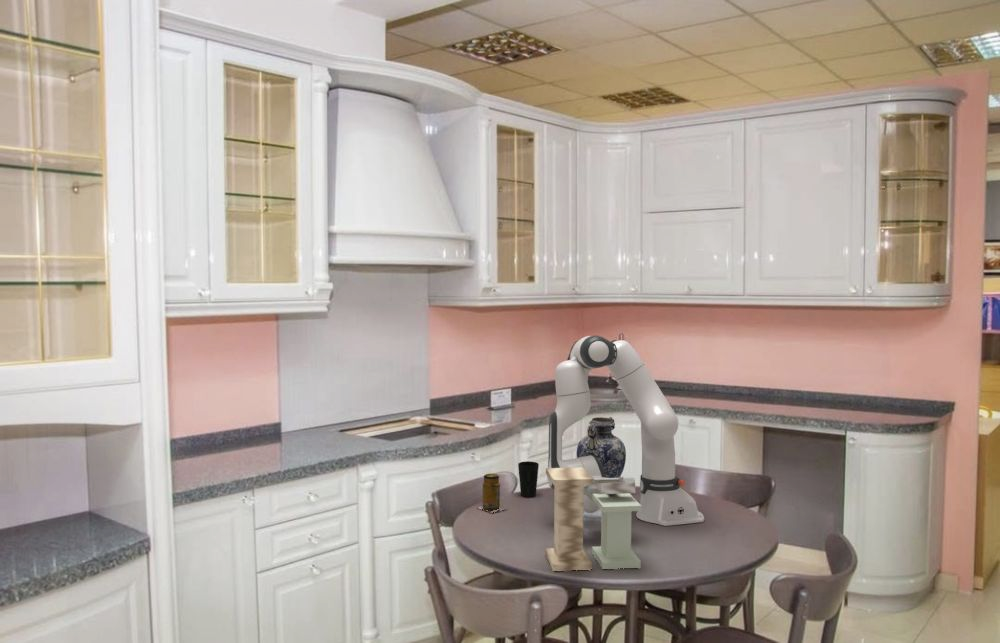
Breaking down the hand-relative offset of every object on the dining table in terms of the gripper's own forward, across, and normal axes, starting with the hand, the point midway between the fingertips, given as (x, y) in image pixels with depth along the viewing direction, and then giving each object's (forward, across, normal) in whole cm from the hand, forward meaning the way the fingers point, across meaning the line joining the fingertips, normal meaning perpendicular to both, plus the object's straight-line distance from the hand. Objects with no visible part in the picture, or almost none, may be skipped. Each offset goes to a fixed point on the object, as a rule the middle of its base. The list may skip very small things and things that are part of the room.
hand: (607, 479), depth 237 cm
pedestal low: (-1, 0, +24) cm, 24 cm away
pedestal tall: (-1, -14, +24) cm, 27 cm away
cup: (-60, -16, -10) cm, 62 cm away
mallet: (0, 0, +4) cm, 4 cm away
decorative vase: (-61, +12, -11) cm, 64 cm away
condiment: (-47, -30, -2) cm, 56 cm away
